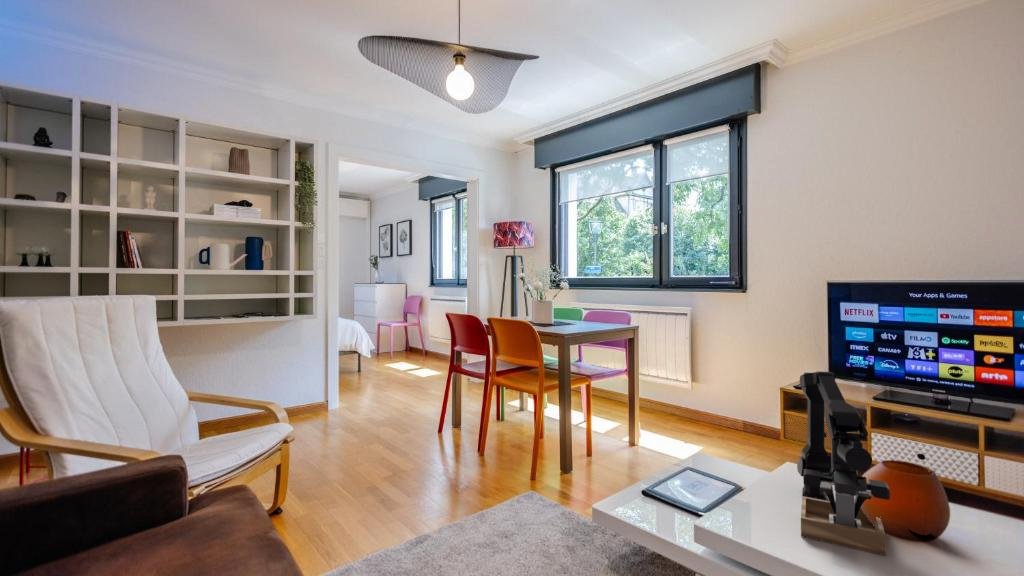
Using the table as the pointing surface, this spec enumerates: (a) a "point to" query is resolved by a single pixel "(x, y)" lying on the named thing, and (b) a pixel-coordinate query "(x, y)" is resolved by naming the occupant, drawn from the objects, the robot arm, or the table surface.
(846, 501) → the grey rectangular block
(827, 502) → the walled box
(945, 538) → the table surface
